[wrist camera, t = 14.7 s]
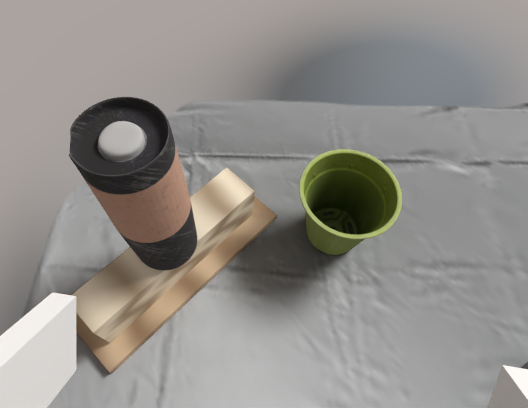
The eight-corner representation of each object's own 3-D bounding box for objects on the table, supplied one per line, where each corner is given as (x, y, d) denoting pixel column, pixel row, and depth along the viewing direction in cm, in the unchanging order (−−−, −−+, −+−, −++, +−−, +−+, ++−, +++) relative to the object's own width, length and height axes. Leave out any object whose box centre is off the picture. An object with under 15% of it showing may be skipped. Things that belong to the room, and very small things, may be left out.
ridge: (226, 175, 60) (224, 147, 54) (276, 218, 57) (279, 193, 51) (62, 312, 50) (36, 296, 44) (111, 373, 47) (91, 365, 41)
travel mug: (213, 235, 48) (192, 125, 30) (170, 286, 45) (119, 197, 27) (164, 201, 50) (118, 80, 32) (119, 248, 47) (41, 143, 29)
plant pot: (329, 290, 53) (348, 259, 43) (273, 223, 57) (278, 180, 47) (393, 240, 56) (424, 200, 46) (336, 181, 60) (353, 133, 51)
